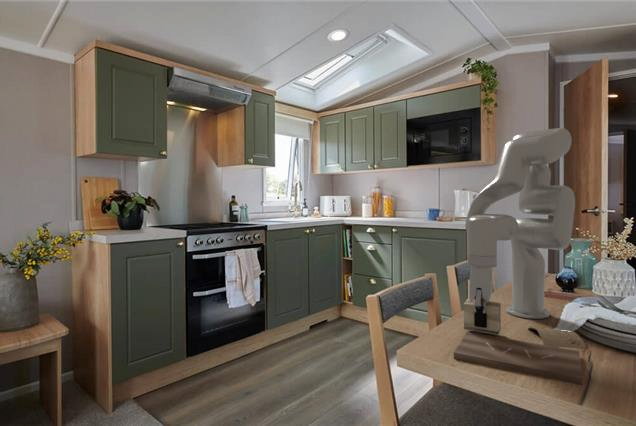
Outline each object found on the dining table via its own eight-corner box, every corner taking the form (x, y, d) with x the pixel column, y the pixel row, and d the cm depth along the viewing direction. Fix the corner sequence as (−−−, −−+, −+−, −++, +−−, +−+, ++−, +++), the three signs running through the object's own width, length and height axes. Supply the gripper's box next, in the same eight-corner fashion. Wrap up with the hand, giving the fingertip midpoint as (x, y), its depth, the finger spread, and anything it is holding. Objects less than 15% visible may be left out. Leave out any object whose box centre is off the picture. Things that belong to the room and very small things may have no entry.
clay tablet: (526, 330, 114) (526, 321, 114) (563, 332, 113) (563, 323, 113) (546, 350, 100) (546, 340, 100) (589, 352, 98) (589, 342, 98)
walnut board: (466, 337, 108) (466, 331, 108) (578, 356, 94) (578, 350, 94) (453, 358, 95) (453, 352, 95) (582, 385, 81) (582, 378, 81)
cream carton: (467, 323, 115) (467, 298, 114) (500, 328, 110) (500, 302, 110) (463, 329, 111) (463, 303, 110) (498, 334, 106) (498, 307, 105)
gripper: (473, 254, 118) (473, 312, 120) (461, 265, 104) (462, 331, 105) (500, 256, 114) (500, 316, 116) (492, 267, 100) (492, 336, 101)
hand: (482, 322), depth 110 cm, fingers closed on cream carton, 5 cm apart
